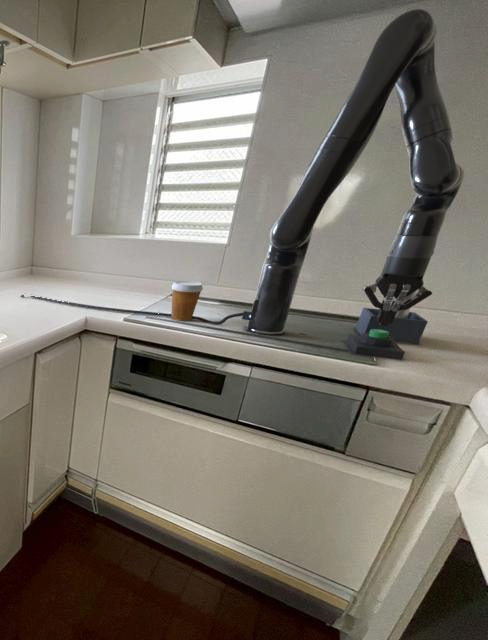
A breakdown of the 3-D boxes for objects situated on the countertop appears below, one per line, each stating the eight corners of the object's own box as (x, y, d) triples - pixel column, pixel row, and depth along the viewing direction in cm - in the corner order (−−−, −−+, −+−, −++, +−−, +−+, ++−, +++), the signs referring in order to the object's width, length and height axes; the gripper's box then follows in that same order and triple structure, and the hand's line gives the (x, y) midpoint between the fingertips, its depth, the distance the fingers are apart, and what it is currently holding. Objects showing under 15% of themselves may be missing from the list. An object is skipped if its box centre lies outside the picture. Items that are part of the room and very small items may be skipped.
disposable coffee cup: (166, 320, 135) (173, 284, 130) (165, 314, 143) (171, 280, 138) (198, 323, 132) (205, 286, 127) (195, 316, 140) (202, 281, 135)
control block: (354, 354, 103) (359, 339, 102) (346, 342, 113) (351, 328, 111) (401, 360, 99) (407, 345, 98) (389, 347, 108) (394, 333, 107)
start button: (369, 338, 104) (372, 331, 103) (366, 334, 107) (369, 328, 106) (388, 340, 102) (390, 333, 102) (384, 336, 105) (387, 330, 104)
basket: (363, 338, 116) (371, 315, 114) (355, 328, 125) (363, 307, 123) (418, 344, 111) (428, 321, 108) (405, 334, 120) (415, 312, 117)
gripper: (442, 254, 96) (413, 324, 103) (369, 252, 103) (347, 318, 109) (454, 257, 90) (423, 332, 97) (376, 255, 97) (352, 324, 104)
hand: (383, 324), depth 103 cm, fingers closed
